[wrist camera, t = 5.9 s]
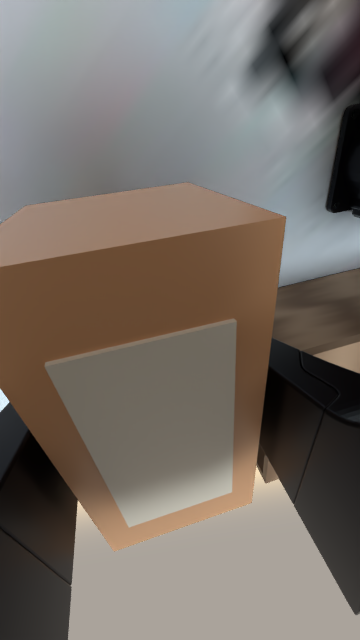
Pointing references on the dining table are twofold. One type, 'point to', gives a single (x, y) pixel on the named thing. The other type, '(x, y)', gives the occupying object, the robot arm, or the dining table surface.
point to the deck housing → (319, 326)
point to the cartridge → (142, 348)
